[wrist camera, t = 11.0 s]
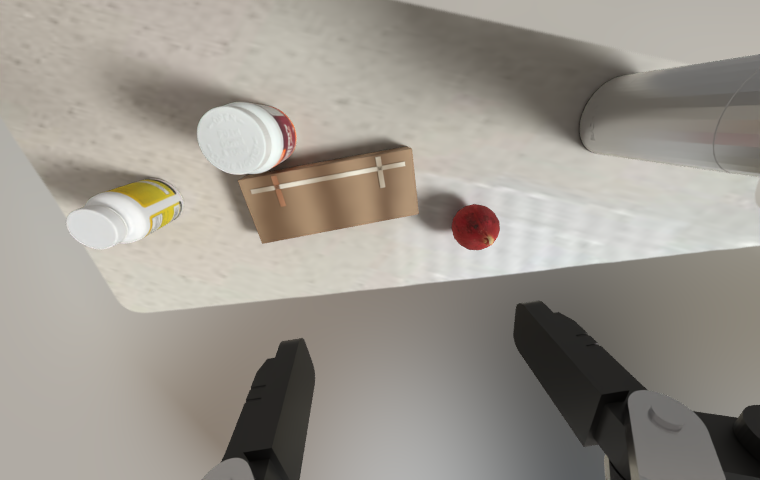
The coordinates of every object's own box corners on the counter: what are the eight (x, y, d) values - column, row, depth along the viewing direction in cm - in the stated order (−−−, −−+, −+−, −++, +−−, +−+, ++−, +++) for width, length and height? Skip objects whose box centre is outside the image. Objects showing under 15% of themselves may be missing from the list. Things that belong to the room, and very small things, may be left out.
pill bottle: (294, 167, 33) (269, 189, 23) (241, 155, 32) (189, 172, 22) (300, 113, 31) (276, 111, 20) (243, 98, 30) (187, 88, 19)
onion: (436, 215, 38) (457, 238, 30) (471, 189, 37) (500, 207, 29) (457, 243, 40) (481, 271, 33) (490, 219, 39) (522, 243, 32)
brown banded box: (406, 146, 33) (412, 148, 31) (413, 206, 37) (419, 214, 34) (247, 175, 33) (237, 180, 30) (268, 234, 36) (262, 244, 33)
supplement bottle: (127, 180, 32) (40, 205, 23) (174, 174, 32) (106, 196, 23) (149, 223, 34) (78, 260, 25) (192, 217, 34) (137, 251, 25)
